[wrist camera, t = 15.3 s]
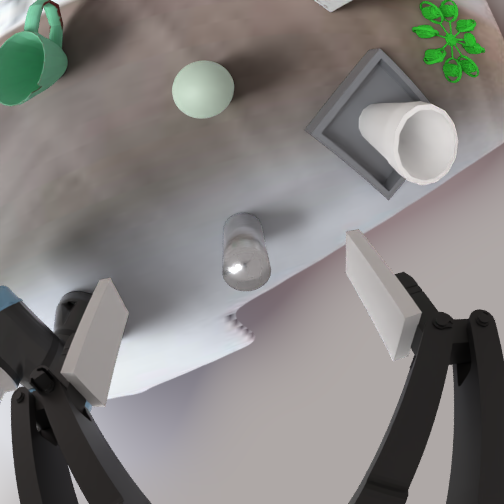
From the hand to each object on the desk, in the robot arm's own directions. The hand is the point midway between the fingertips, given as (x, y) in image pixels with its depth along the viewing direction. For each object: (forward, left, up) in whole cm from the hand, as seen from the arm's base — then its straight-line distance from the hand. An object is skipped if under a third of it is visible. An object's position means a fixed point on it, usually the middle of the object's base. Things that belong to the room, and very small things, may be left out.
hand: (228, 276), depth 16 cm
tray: (+16, -15, -28) cm, 36 cm away
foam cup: (+16, -15, -28) cm, 35 cm away
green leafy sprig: (+37, -15, -29) cm, 49 cm away
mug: (+1, +31, -29) cm, 42 cm away
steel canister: (-9, -9, -28) cm, 31 cm away
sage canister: (+6, +7, -28) cm, 30 cm away
